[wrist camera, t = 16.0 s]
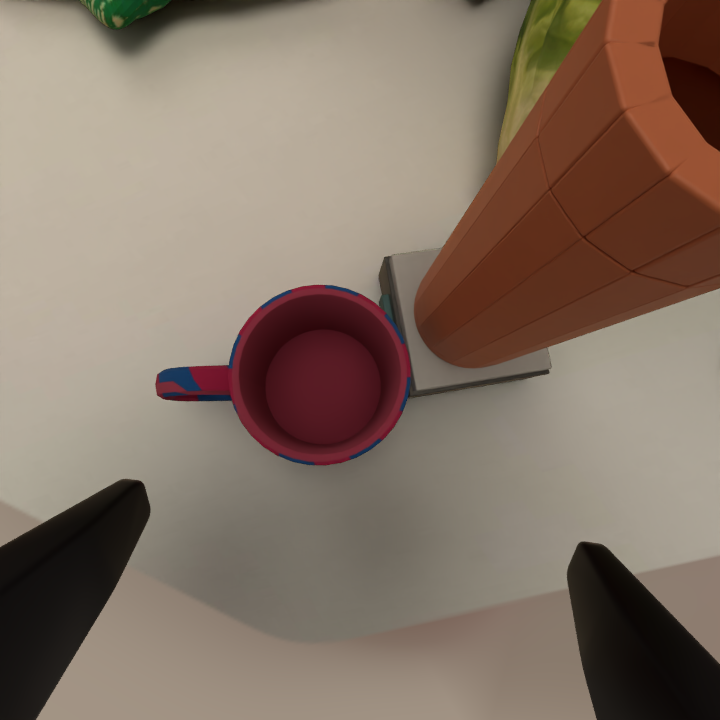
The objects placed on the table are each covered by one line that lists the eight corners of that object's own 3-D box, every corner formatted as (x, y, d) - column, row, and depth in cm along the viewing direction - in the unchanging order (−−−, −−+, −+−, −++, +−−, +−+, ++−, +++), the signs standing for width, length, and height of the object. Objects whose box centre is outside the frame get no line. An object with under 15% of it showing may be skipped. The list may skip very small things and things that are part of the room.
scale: (525, 378, 23) (557, 371, 20) (394, 400, 22) (405, 397, 19) (498, 258, 24) (525, 232, 21) (372, 275, 23) (378, 251, 20)
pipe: (485, 391, 19) (875, 317, 5) (390, 322, 19) (537, 82, 6) (546, 301, 20) (1016, 39, 6) (455, 236, 20) (718, -158, 6)
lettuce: (411, 194, 29) (393, 31, 16) (635, -91, 27) (817, -524, 14) (588, 318, 26) (741, 247, 13) (844, 10, 25) (1292, -404, 12)
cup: (383, 455, 22) (407, 470, 15) (187, 444, 21) (121, 455, 14) (390, 329, 23) (414, 291, 16) (203, 316, 22) (147, 270, 16)
